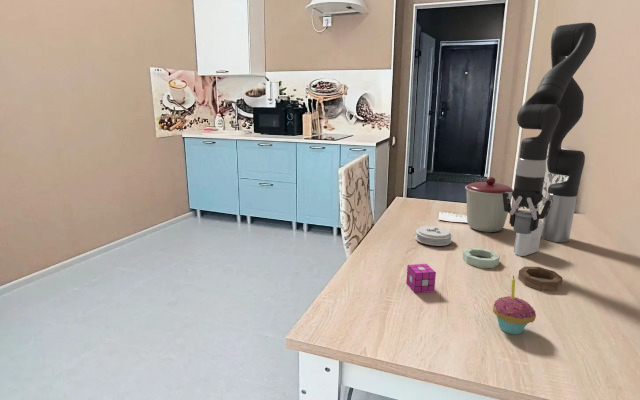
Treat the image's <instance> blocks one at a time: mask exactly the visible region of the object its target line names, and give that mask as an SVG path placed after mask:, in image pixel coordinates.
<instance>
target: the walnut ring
mask: <svg viewBox="0 0 640 400" xmlns="http://www.w3.org/2000/svg"><path fill="white" fill-rule="evenodd" d="M517 279H518V280H519V281H520V282H521V283H522V284H523V285H524V286H525V287H526V286H527V287H528V288H529V287H530V288H533V289H535V290H539V291H551V292H552V291H553V292H555V291H558V289H560V287H562V283H563V277H562V276H561V275H560V274H558V272H556V271H555V270H552V269H549V268H548V269H547V268H544V267H541V266H523V267H522V268H521V269H519V270H518V276H517Z"/></svg>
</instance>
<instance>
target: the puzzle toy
mask: <svg viewBox="0 0 640 400" xmlns="http://www.w3.org/2000/svg"><path fill="white" fill-rule="evenodd" d="M406 267H407V268H406V281H405V282H406V283H405V284H406V285H407V286H408V288H410V290H411V291H412V292H413V293H414V294H417V293H419V294H420V293H431V292H433V293H434V292H435V288H436V274H437V272H436V271H435V270H434V269H433V268H432V267H431V266H430V265H429V264H428V263H418V264H407V266H406Z"/></svg>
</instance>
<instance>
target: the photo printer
mask: <svg viewBox="0 0 640 400" xmlns="http://www.w3.org/2000/svg"><path fill="white" fill-rule="evenodd" d="M542 224H543V220H542V219H539V222H538V228H537V229H536V230H534V231H532V233H530V234H521V233H517V232H515V233H516V234H515V238H514V239H515V240H514V246H513V253H514V254H515V255H516V256H519V257H526V256H529V255H532V254H534V253H537V252H538V251H539V248H540V244H541V243H540V242H541V238H542V237H541V231H542Z"/></svg>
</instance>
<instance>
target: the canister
mask: <svg viewBox="0 0 640 400" xmlns="http://www.w3.org/2000/svg"><path fill="white" fill-rule="evenodd" d="M496 181H497V180H496V178H494V177H493V176H488V177H486V178H485V181H478V182H477V181H475V182H470V183H469V184H467V185H465V187H464V189H465V190H466V221H467V225H468V226H469V228H471V229H473V230H475V231H479V232H484V233H496V232H499V231H500V232H501V230H502V229H504V227H505V224H506V220H507V218H508V217H507V216H508V212H505V211H504V204H503V195H502V194H503V193H505V192H513V191H514V188H512V187H511V186H510V185H506V184H503V183H499V182H496ZM512 199H513V197H512V198H511V199H510V202H511V203H512Z"/></svg>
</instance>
